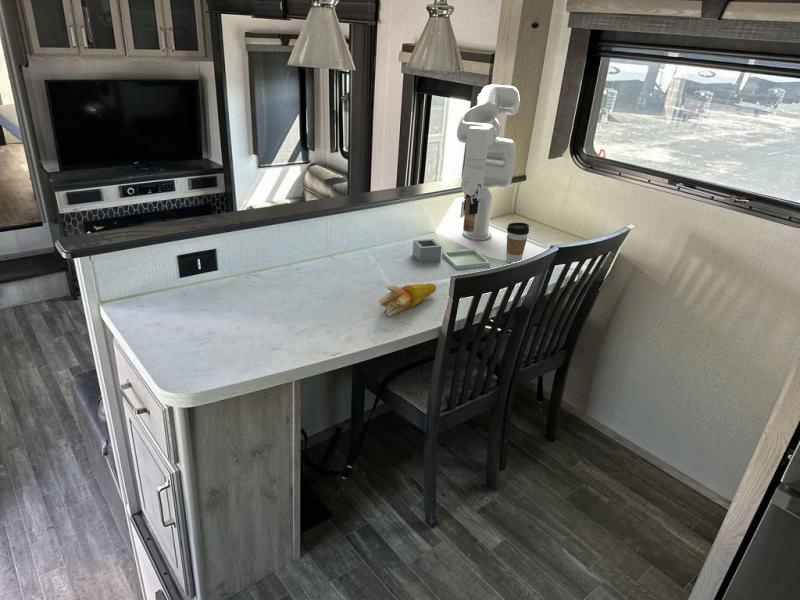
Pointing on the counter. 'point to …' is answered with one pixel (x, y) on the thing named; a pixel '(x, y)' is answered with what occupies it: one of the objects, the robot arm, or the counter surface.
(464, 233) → the robot arm
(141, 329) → the counter surface
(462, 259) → the sage tray
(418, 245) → the square cup
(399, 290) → the corn cob
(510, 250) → the coffee cup
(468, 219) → the walnut dowel
